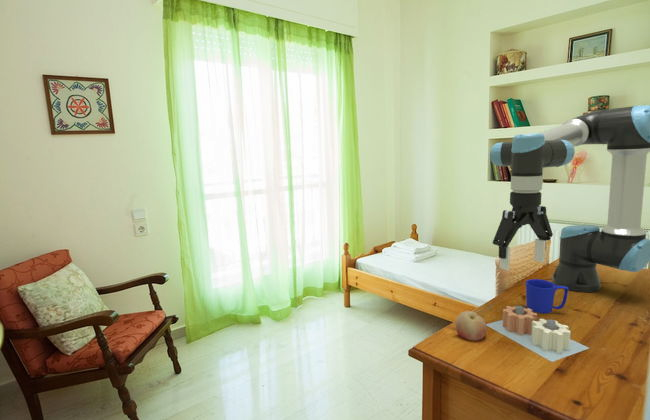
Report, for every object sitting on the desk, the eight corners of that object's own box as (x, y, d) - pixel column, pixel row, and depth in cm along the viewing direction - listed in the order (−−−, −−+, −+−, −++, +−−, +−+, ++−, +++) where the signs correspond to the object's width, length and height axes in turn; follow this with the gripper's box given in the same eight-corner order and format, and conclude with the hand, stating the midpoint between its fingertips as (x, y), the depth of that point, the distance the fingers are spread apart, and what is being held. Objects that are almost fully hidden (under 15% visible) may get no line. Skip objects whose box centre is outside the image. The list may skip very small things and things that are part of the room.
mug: (572, 319, 110) (574, 289, 108) (529, 317, 112) (531, 288, 111) (560, 308, 118) (562, 279, 116) (520, 306, 120) (522, 278, 119)
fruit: (467, 349, 97) (468, 322, 95) (449, 335, 104) (450, 309, 103) (492, 344, 99) (493, 317, 97) (473, 330, 106) (473, 305, 105)
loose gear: (543, 331, 101) (544, 314, 100) (521, 338, 98) (521, 321, 97) (517, 318, 109) (517, 303, 108) (496, 324, 106) (496, 309, 105)
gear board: (519, 319, 112) (520, 295, 110) (589, 353, 92) (591, 324, 91) (485, 329, 107) (485, 304, 105) (551, 367, 87) (553, 337, 86)
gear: (536, 332, 101) (537, 315, 100) (572, 343, 95) (574, 325, 94) (526, 344, 95) (527, 327, 94) (564, 356, 89) (565, 338, 88)
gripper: (545, 186, 105) (541, 255, 108) (479, 193, 96) (478, 268, 100) (570, 188, 98) (565, 261, 102) (502, 196, 89) (499, 276, 93)
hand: (522, 265), depth 101 cm, fingers open, 13 cm apart
